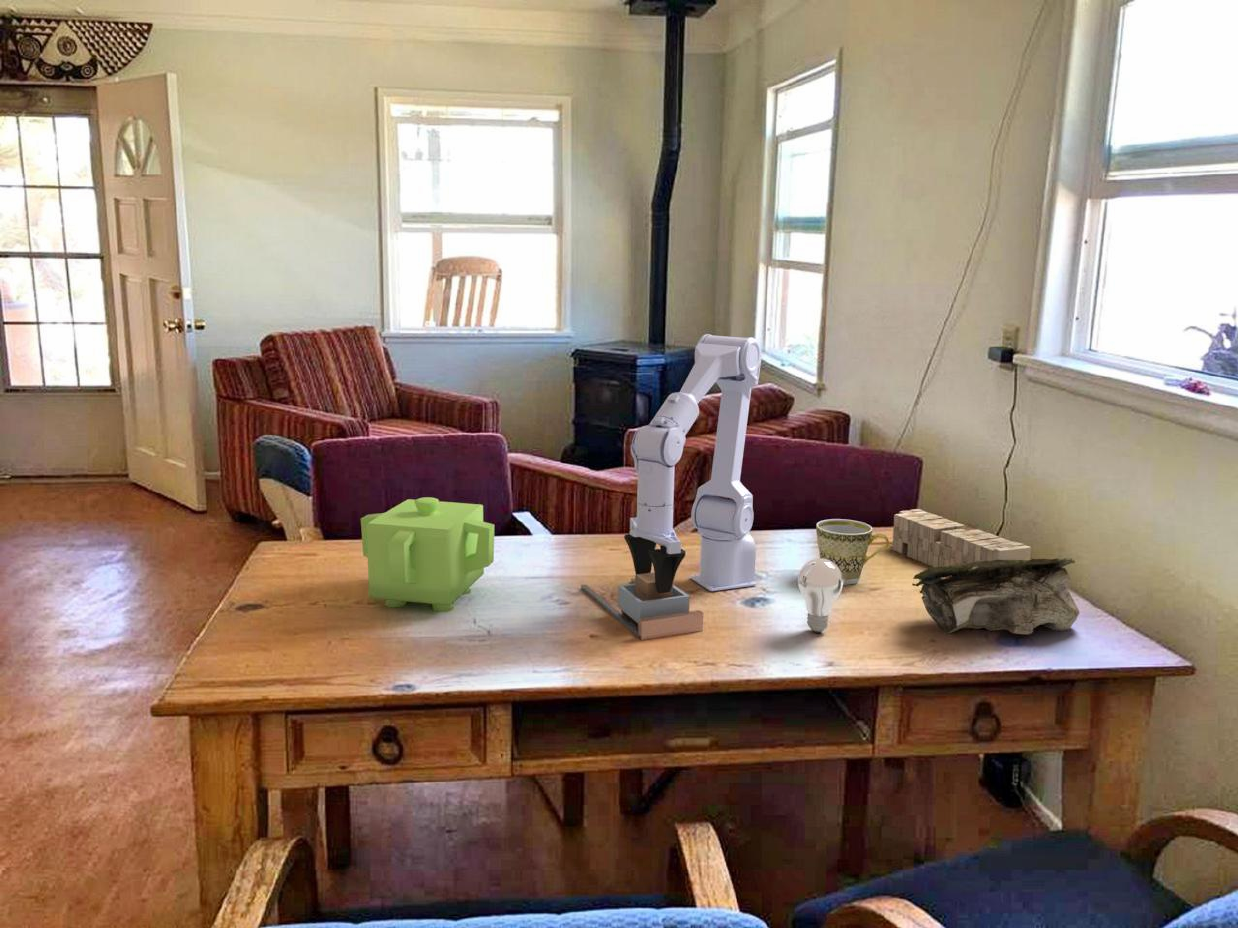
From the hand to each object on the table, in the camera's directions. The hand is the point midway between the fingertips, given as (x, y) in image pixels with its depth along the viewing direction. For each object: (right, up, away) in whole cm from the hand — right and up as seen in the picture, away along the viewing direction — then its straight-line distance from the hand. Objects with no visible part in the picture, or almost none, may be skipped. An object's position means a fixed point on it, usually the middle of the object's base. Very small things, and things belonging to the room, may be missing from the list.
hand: (653, 584), depth 161 cm
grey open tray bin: (0, -6, +1) cm, 6 cm away
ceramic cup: (+36, -2, +22) cm, 43 cm away
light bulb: (+26, -7, -3) cm, 27 cm away
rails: (-2, -5, +6) cm, 8 cm away
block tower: (+58, -1, +32) cm, 66 cm away
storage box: (-38, -4, +9) cm, 39 cm away
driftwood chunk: (+55, -7, +1) cm, 55 cm away
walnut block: (0, -4, +1) cm, 4 cm away
